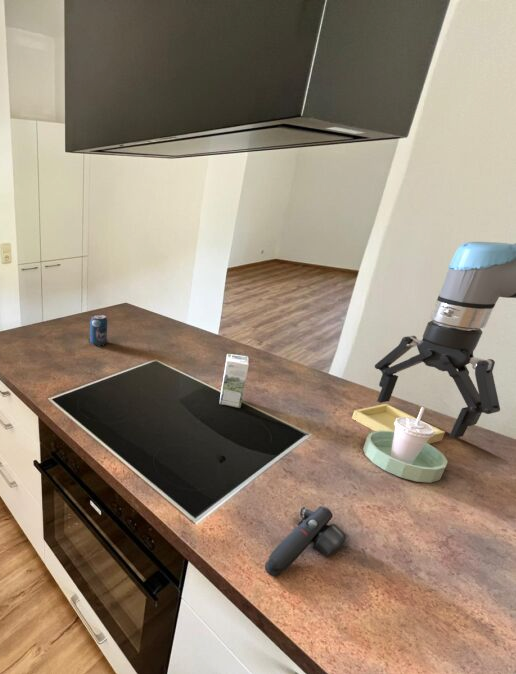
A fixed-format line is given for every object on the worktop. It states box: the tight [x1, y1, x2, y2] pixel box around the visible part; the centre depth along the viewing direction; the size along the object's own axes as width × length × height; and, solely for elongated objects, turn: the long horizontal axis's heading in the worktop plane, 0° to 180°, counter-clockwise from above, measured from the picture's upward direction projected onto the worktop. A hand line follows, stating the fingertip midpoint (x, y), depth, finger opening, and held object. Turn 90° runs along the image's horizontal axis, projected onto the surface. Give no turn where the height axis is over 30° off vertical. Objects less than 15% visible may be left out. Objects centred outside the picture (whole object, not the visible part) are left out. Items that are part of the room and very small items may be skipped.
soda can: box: [89, 313, 108, 347], centre depth 148 cm, size 7×7×12 cm
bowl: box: [362, 430, 449, 483], centre depth 81 cm, size 13×13×4 cm
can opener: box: [264, 506, 347, 578], centre depth 61 cm, size 18×7×6 cm, turn 118°
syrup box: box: [219, 353, 250, 409], centre depth 104 cm, size 6×6×14 cm
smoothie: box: [390, 406, 435, 464], centre depth 79 cm, size 6×6×14 cm
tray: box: [351, 403, 446, 445], centre depth 93 cm, size 14×12×3 cm
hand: (416, 417), depth 77 cm, fingers open, 13 cm apart
